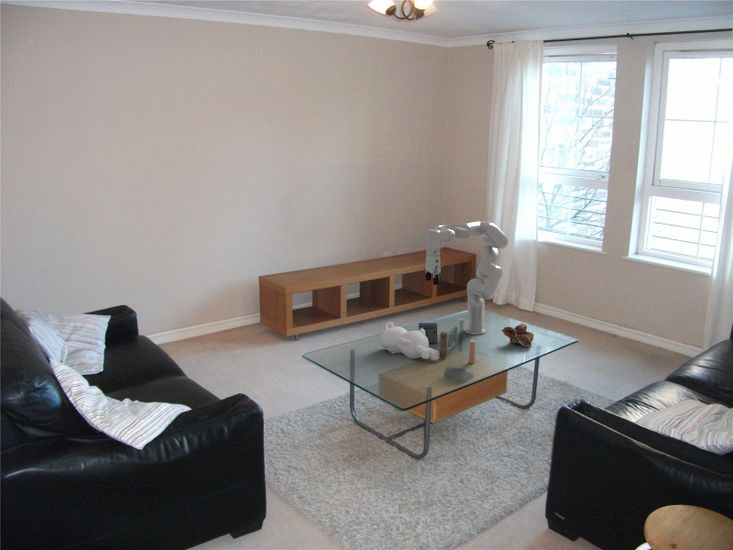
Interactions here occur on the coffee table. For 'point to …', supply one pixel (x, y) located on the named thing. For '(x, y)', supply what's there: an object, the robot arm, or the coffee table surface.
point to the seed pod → (519, 335)
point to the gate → (451, 338)
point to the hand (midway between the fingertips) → (432, 282)
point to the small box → (430, 331)
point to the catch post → (472, 351)
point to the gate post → (443, 345)
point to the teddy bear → (407, 342)
